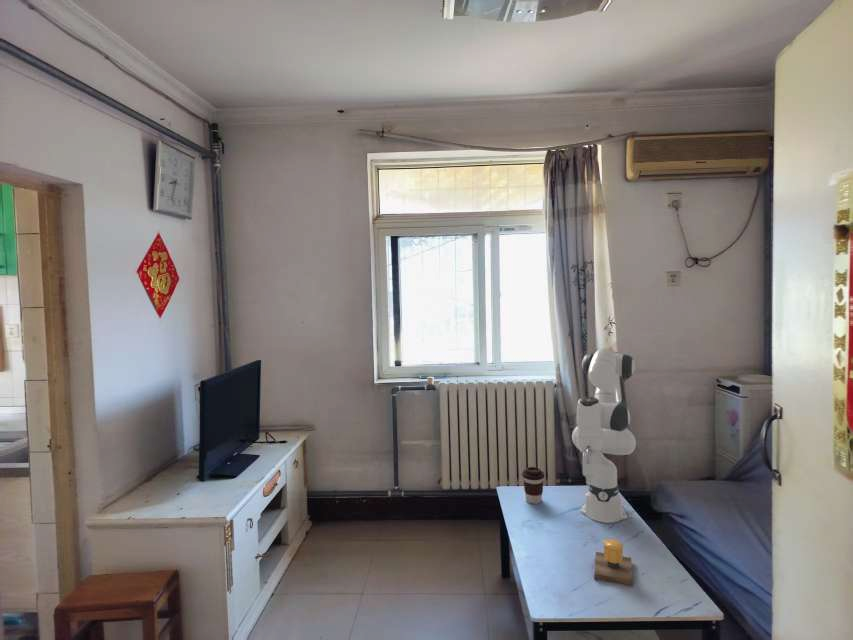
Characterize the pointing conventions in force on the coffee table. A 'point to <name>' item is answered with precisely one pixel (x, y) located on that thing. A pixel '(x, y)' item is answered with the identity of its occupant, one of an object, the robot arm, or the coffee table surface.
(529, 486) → the coffee cup
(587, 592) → the coffee table surface
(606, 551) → the domed octagonal prism
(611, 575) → the wooden peg stand
